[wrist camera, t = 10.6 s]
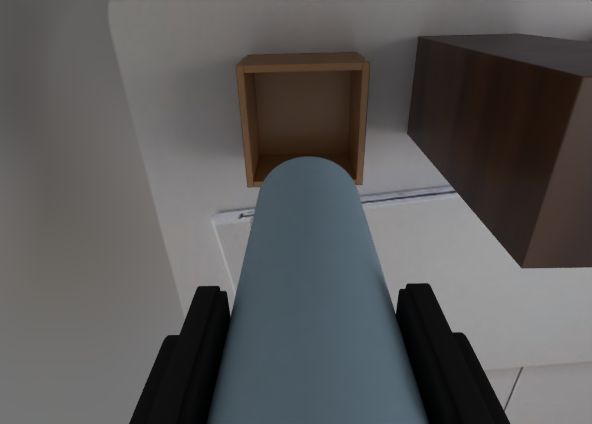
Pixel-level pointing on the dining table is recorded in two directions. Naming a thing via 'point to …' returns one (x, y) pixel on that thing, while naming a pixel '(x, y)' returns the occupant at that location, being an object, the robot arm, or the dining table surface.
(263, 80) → the open wooden box
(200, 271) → the dining table surface
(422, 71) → the plinth
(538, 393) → the dining table surface
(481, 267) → the dining table surface
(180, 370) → the robot arm
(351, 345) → the bottle
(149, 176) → the dining table surface
